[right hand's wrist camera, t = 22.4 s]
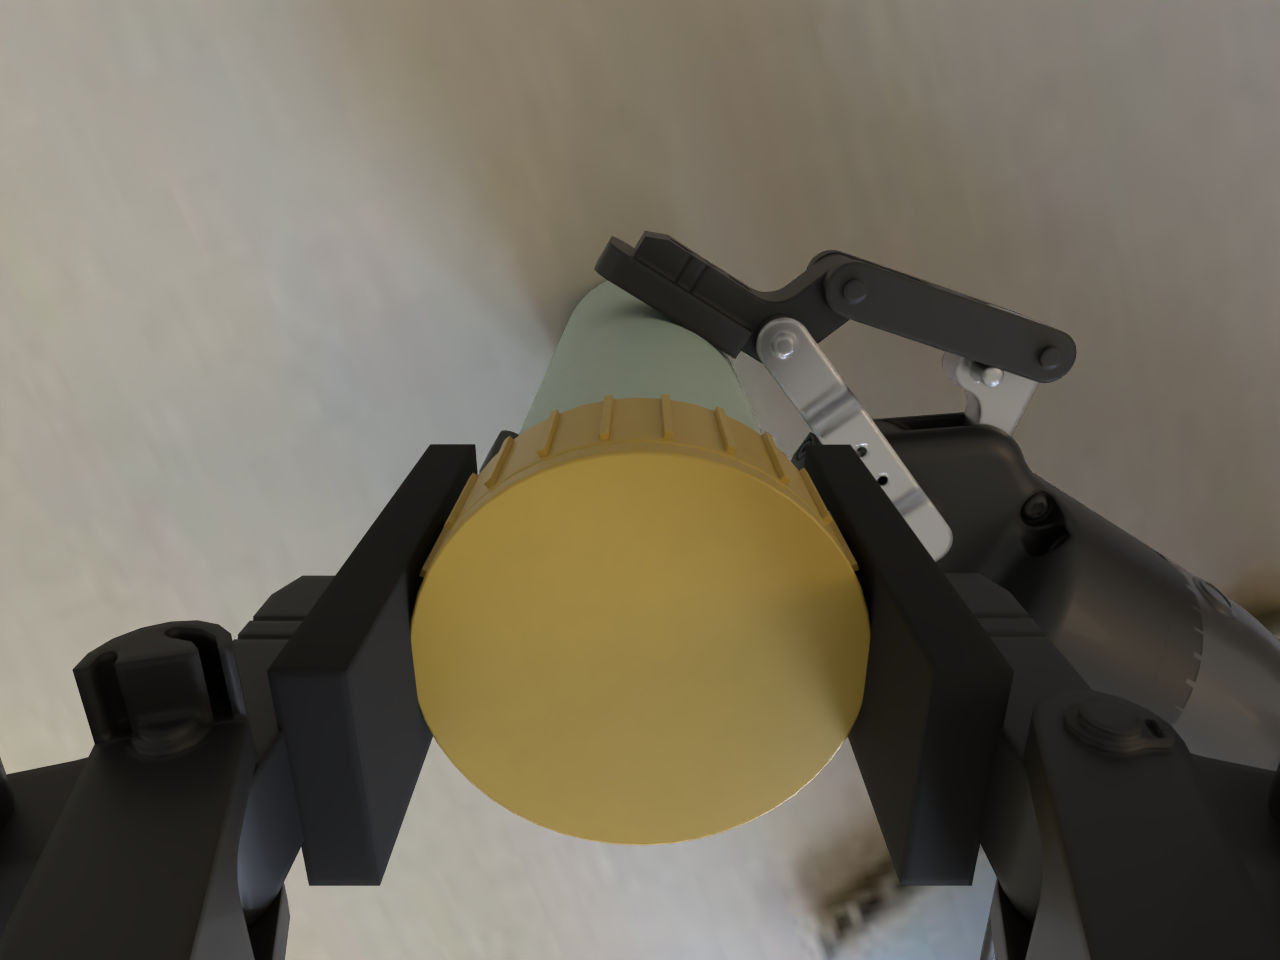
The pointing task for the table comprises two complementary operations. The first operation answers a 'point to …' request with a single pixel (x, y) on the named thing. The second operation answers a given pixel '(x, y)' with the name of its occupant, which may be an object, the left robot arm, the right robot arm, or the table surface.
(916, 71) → the table surface
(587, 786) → the lid
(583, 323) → the jar
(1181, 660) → the left robot arm
